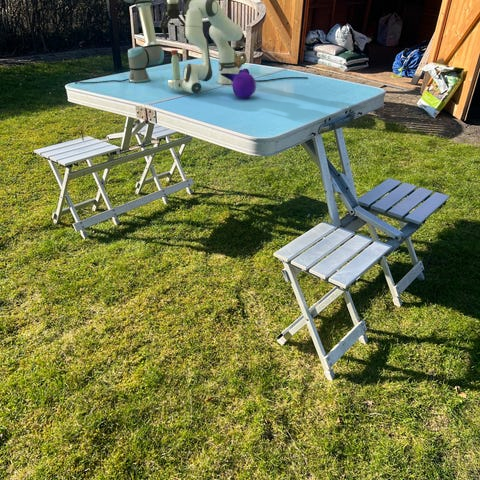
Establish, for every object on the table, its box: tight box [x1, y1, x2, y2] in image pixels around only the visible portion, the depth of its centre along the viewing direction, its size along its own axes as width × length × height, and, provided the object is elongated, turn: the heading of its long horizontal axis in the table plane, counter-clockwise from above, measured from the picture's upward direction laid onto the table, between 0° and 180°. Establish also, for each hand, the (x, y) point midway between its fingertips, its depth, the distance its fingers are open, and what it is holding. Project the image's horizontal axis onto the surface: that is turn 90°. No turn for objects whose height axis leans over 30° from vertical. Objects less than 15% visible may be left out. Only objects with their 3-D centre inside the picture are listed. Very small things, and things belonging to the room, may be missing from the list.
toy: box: [221, 68, 257, 99], centre depth 286 cm, size 16×18×27 cm
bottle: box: [171, 54, 181, 80], centre depth 308 cm, size 5×5×24 cm
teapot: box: [234, 50, 247, 69], centre depth 367 cm, size 21×12×15 cm, turn 120°
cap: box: [170, 49, 179, 56], centre depth 302 cm, size 4×4×2 cm
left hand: (175, 38), depth 302 cm, fingers open, 13 cm apart
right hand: (179, 80), depth 308 cm, fingers open, 8 cm apart
